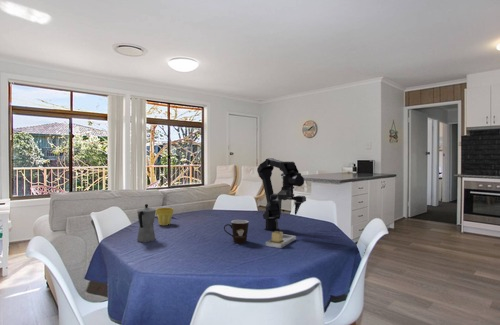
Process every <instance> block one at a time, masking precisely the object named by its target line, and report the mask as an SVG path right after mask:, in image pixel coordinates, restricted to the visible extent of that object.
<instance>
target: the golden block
mask: <svg viewBox="0 0 500 325" xmlns="http://www.w3.org/2000/svg"><path fill="white" fill-rule="evenodd" d="M283 234H284V232H283V231H278V230H275V231H271V239H272V242H274V243H281V242H283Z"/></svg>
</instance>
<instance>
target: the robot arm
mask: <svg viewBox="0 0 500 325" xmlns="http://www.w3.org/2000/svg"><path fill="white" fill-rule="evenodd" d="M274 168H276V169H277V168H278V169H279V171H280V172H282V173H281V174H280V176H281V177H282V186H281V189H280V191H278V193H275V192H274V189H273V185H272V178H271V177H272V175H273V170H274ZM256 172H257V174H258V177H259V178H260V179H261V180H262V184H263V188H264V196H265V197H266V198H265V199H266V205H265V211H264V213H263V214H262V217H263V219H264V220H265V228H264V230H265V231H271V232H274V231H278V230H279V222H278V220H280V218H281V214H282V201H287V200H290V201H295V202H294V215H295V216H296V215H297V214H298V212H299V210H300V206H301V205H302V204H304V203H305V202H306V201H307V197H306V195H295V194H294V189H295V187H302V186H303V185H304V183H305V179H304V177H303V175H302V173H301V172H299V170H298V168H297V165H296V163H295V162H294V161H283V160H280V159H275V158H272V157H271V158H270V157H269V158H266V159H265V160H264V161H262V162H261V163H259V165H258V167H257V169H256Z"/></svg>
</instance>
